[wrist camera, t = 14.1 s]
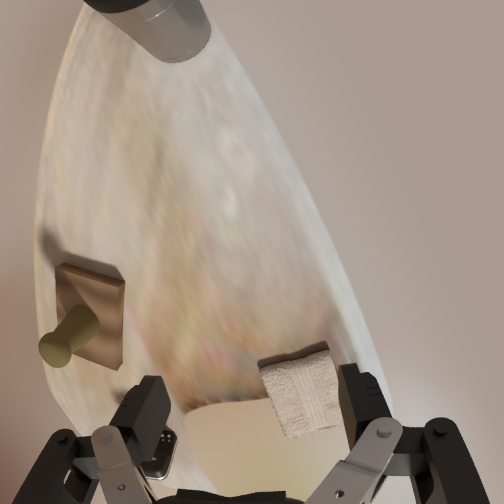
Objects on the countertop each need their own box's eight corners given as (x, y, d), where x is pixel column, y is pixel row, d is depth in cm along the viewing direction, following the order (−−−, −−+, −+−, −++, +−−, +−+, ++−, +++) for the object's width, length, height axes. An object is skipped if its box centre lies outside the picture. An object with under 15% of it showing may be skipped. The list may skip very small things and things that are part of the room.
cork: (72, 298, 44) (33, 329, 33) (103, 315, 44) (67, 352, 34) (68, 326, 45) (32, 359, 35) (97, 343, 46) (64, 381, 35)
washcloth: (286, 432, 52) (287, 444, 49) (256, 364, 48) (255, 376, 45) (347, 416, 51) (350, 428, 48) (328, 344, 46) (332, 355, 43)
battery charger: (175, 428, 53) (160, 471, 42) (180, 440, 54) (166, 482, 43) (143, 425, 54) (125, 466, 43) (149, 437, 55) (133, 477, 44)
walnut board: (63, 262, 45) (55, 267, 43) (125, 281, 45) (118, 287, 43) (67, 341, 49) (60, 348, 47) (122, 362, 49) (116, 370, 47)
